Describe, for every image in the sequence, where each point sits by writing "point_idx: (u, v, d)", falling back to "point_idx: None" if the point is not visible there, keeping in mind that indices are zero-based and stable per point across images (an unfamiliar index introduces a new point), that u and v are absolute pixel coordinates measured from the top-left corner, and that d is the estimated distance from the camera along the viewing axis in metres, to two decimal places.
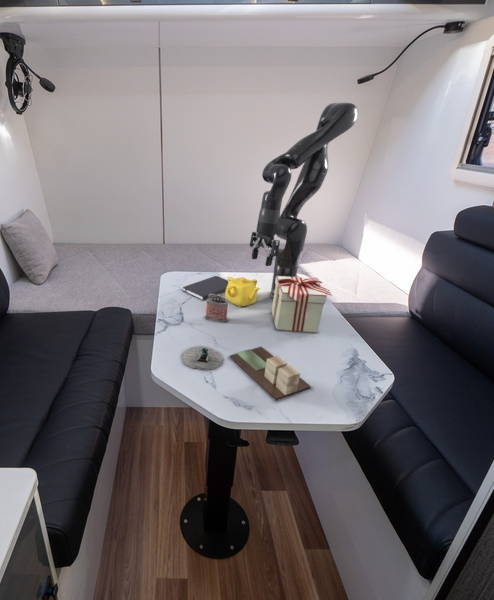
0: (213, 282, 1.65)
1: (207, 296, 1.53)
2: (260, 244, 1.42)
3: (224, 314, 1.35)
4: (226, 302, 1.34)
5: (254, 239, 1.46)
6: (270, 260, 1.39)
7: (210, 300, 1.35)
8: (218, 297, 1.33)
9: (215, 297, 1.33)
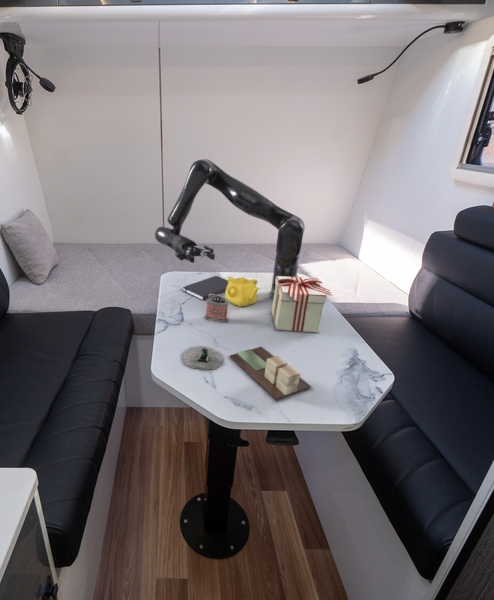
0: (213, 282, 1.65)
1: (207, 296, 1.53)
2: None
3: (224, 314, 1.35)
4: (226, 302, 1.34)
5: (207, 251, 1.46)
6: (188, 259, 1.38)
7: (210, 300, 1.35)
8: (218, 297, 1.33)
9: (215, 297, 1.33)
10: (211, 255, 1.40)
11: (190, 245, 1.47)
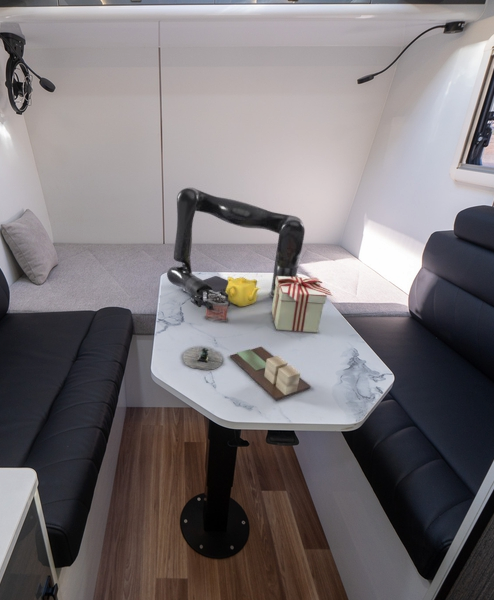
0: (213, 282, 1.65)
1: None
2: None
3: (224, 314, 1.35)
4: (226, 302, 1.34)
5: None
6: (206, 306, 1.33)
7: (210, 300, 1.35)
8: (218, 297, 1.33)
9: (215, 297, 1.33)
10: None
11: (205, 289, 1.42)
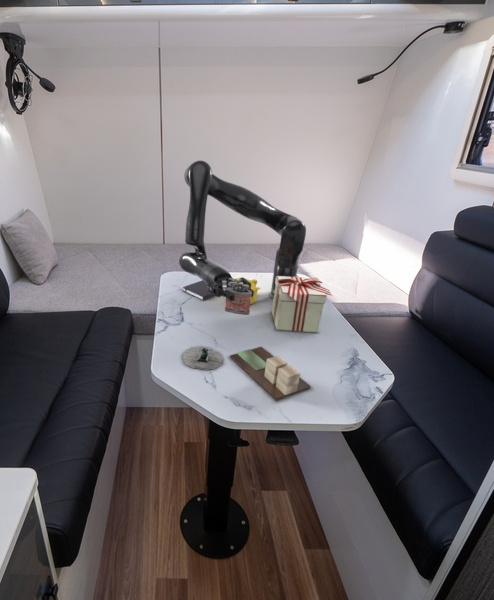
0: None
1: (207, 296, 1.53)
2: None
3: (247, 305, 1.16)
4: (249, 292, 1.15)
5: None
6: (226, 296, 1.15)
7: (231, 289, 1.16)
8: (240, 286, 1.14)
9: (237, 286, 1.15)
10: None
11: (224, 277, 1.24)
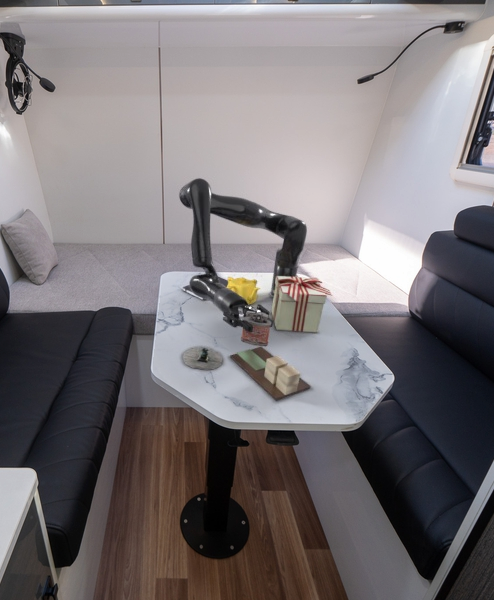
0: None
1: None
2: None
3: (266, 337, 1.08)
4: (269, 322, 1.07)
5: None
6: (243, 326, 1.06)
7: (248, 319, 1.08)
8: (259, 316, 1.06)
9: (255, 316, 1.06)
10: None
11: (240, 304, 1.15)
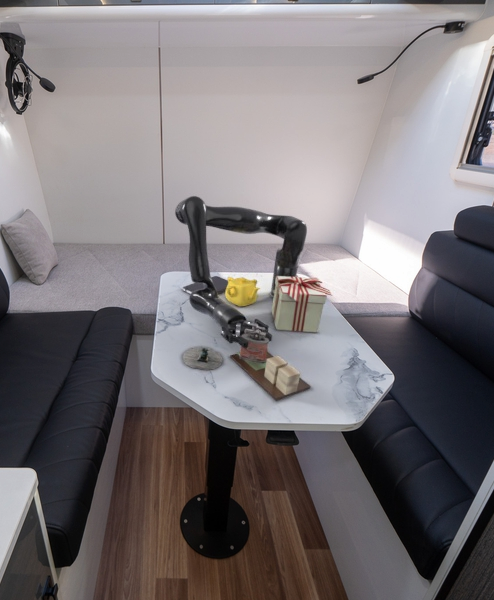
0: (213, 282, 1.65)
1: None
2: None
3: (263, 354, 1.10)
4: (266, 340, 1.09)
5: (259, 327, 1.17)
6: (239, 342, 1.09)
7: (246, 337, 1.10)
8: (257, 334, 1.08)
9: (253, 334, 1.09)
10: (267, 336, 1.11)
11: (238, 320, 1.18)
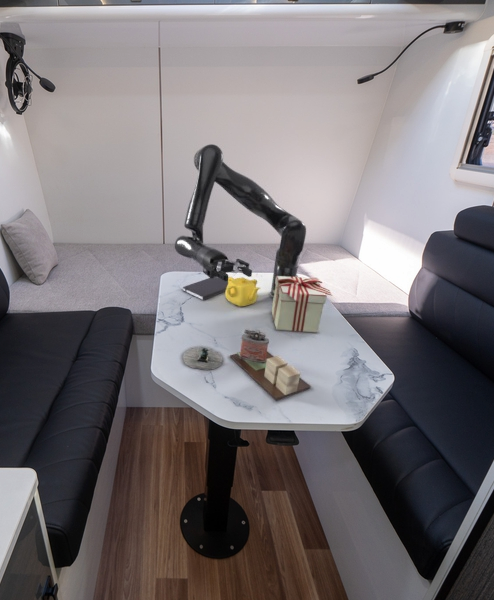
0: (213, 282, 1.65)
1: (207, 296, 1.53)
2: None
3: (263, 354, 1.10)
4: (266, 340, 1.09)
5: None
6: (219, 276, 1.12)
7: (246, 337, 1.10)
8: (257, 334, 1.08)
9: (253, 334, 1.09)
10: (248, 271, 1.14)
11: (220, 259, 1.21)
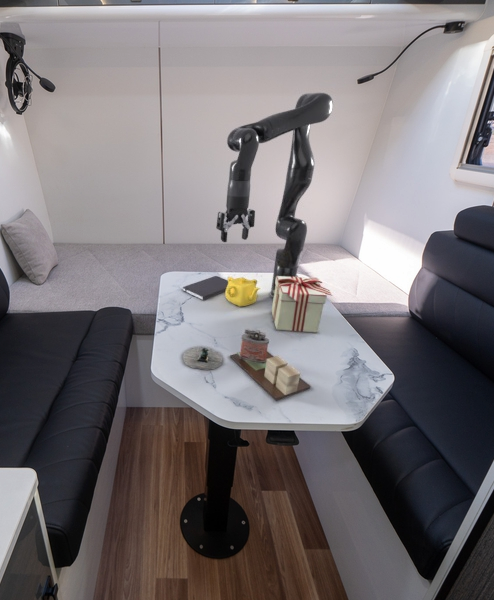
0: (213, 282, 1.65)
1: (207, 296, 1.53)
2: None
3: (263, 354, 1.10)
4: (266, 340, 1.09)
5: (249, 217, 1.31)
6: (221, 235, 1.29)
7: (246, 337, 1.10)
8: (257, 334, 1.08)
9: (253, 334, 1.09)
10: (244, 236, 1.33)
11: None
